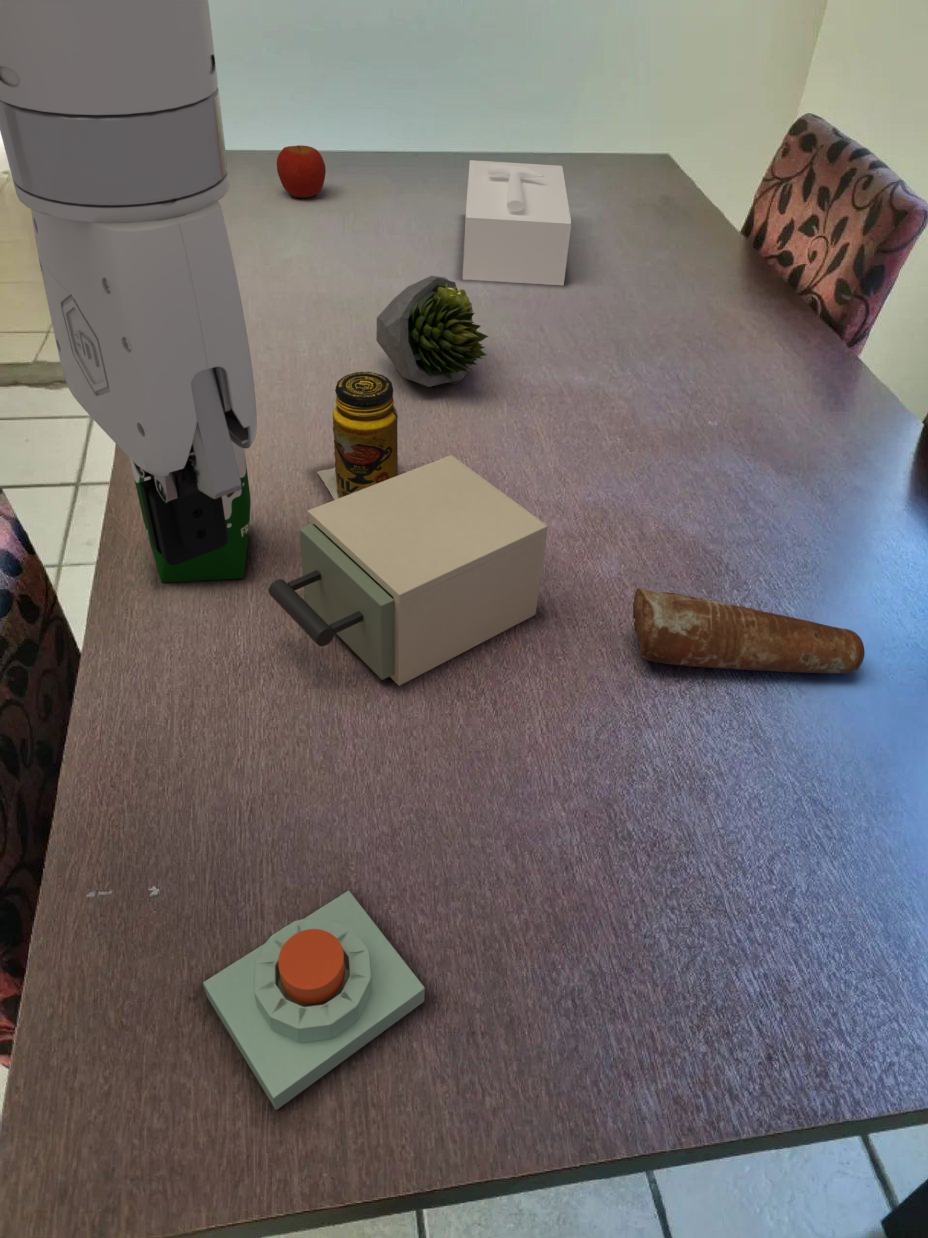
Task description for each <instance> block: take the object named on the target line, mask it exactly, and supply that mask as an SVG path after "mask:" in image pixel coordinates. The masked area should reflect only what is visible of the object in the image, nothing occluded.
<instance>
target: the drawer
mask: <svg viewBox="0 0 928 1238" xmlns="http://www.w3.org/2000/svg"><path fill="white" fill-rule="evenodd" d="M298 531H299V533H298V534H299V544H300V545H299V546H300V554H301V566H302V576H299V577H297V578H294V579H292V580H290V581H288V582H287V581H286V580H285V579H282V578H279V579H276V580H274V581H273V582H271V584H270V585H269V588H268V594H269V596H270V597H271V598H272V599H273V600H274V601H275V602H276V603H277V604H278V605H279V606H280V607H281V608H282V609H283V610H284V611H285V613H287V614H288V615H289V617H290V618H291V619H292V620H293V621H294V622H295V623H296V624H297V625H298V626H299V627H300V628H301V630H302V631H304V632H305V634H306V635H308V637H309V638H310V639H311V640H312V641H313V642H314V643H315V644H316V645H317V646H318V647H325V646H327V645H329V644H331V642H332V641H333V639H334V637H335V635H337V636H338V637H339V638H340V639H341V640H342V642H344V643H345V644H346V645H347V646H348V647H349V648H350V650H351V651H353V653H355V654H356V655H357V656H358V657H359V658H360V659H361V661H363V663H365V664H366V666H367V667H368V668H369V669H370V670H371V671H372V672H373V673H374V674H375V675H376V676H377V677H378V678H379V679H380V680H381V681H383V680H385V679H387V678H390V676H391V675H393V674H394V599H393V598H394V597H393V596H392V595H391V594H390V593H389V592H387V591H386V590H385V589H384V588H383V587H382V586H381V585H380V584H379V583H378V582H377V581H376V580H374V579H373V578H372V577H371V576H370V575H369V574H368V573H367V572H366V571H365V570H364V569H363V568H362V567H360V566H359V565H358V564H357V563H356V562H355V561H354V560H353V559H352V558H351V557H350V556H349V555H347V554H346V553H345V552H344V551H343V550H342V549H341V548H340V547H339V546H338V545H337V544H336V543H334V542H333V541H332V542H331V541H330V540H329V539H328V538H327V537H326V536H325V535H324V534H322V533H321V532H320V531H319V530H318V529H317V528H316V527H315V526H314V525H313V524H307V525H304V526H302V527H299V528H298ZM302 588H303V591H304V599H303V597H302V596H300V594H299V593H298V592H297V590H299V589H302Z"/></svg>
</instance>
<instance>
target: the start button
mask: <svg viewBox="0 0 928 1238" xmlns="http://www.w3.org/2000/svg"><path fill="white" fill-rule="evenodd" d="M278 966H279V972H280V978H281V983H282V986H283V989H284V991H285V992H286V993H287V995H288V996H289V997H290V998H292V999H293V1000H295V1001H297V1002H300V1003H304V1004H316V1003H320V1002H323V1001H325V1000H327V999H329V998H330V997H332V996H333V995H334V994H335V993H336V992H337V991H338V990H339V988H340V986H341V985H342V982H343V980H344V975H345V965H344V953H343V948H342V946H341V944H340V942H339V941H338V939H337V938H336V937H335V936H334V935H332V934H331V933H329V932H327V931H324V930H320V929H308V930H304V931H301V932H298V933H297V934H295V935H293V936H292V937H291V938H289V939H288V940H287V942H286V943H285V944H284V945H283V947H282V949H281V951H280V954H279V958H278Z"/></svg>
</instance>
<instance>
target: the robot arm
mask: <svg viewBox="0 0 928 1238" xmlns="http://www.w3.org/2000/svg"><path fill="white" fill-rule="evenodd" d="M210 12H211V11H210V5H209V0H0V135H1V139H2V143H3V146H4V151H5V155H6V158H7V159H6V160H7V163H8V167H9V171H10V174H11V178H12V181H13V186H14V189H15V194H16V196H17V198H18V200H19V202H21V203H22V204H23V205H24V206H25V207H27V208H28V209H30V212H31V220H32V227H33V233H34V239H35V245H36V249H37V256H38V261H39V266H40V267H39V268H40V272H41V277H42V282H43V286H44V290H45V297H46V301H47V305H48V306H47V307H48V311H49V316H50V320H51V326H52V330H53V335H54V339H55V345H56V348H57V354H58V358H59V362H60V367H61V372H62V374H63V378H64V382H65V384H66V386H67V388H68V390H69V392H70V393H71V395H72V397H73V398H74V399H75V400H76V402H77V403H78V404H79V405H80V406H81V408H82V409H83V410H84V411H85V412H86V413H87V414H88V416H90V417H91V419H93V421H94V422H95V423H96V424H97V425H98V426H99V428H100V429H101V430H102V431H103V432H105V434H106V435H107V436H108V437H109V439H111V440H112V442H114V443H115V444H116V445H117V446H118V448H120V450H121V451H122V452H124V454H125V455H126V456H127V457H128V458H129V460H130V459H131V460H132V461H133V463H134V466H135V469H136V471H137V473H138V474H139V476H140V477H141V478H142V479H143V478H146V477H149V476H150V478H151V479H149V480H146V481H143V482H140V483H139V485H140V489H141V494H142V498H143V503H144V507H145V512H146V517H147V521H148V526H149V530H150V535H151V539H152V544H153V547H154V548H155V549H156V550H157V551H158V553H160V554H162V556H163V558H164V560H165V561H166V562H167V563H168V564H169V565H171V566H175V565H178V564H180V563H183V562H186V561H188V560H191V559H193V558H196V557H198V556H201V555H203V554H206V553H209V552H211V551H214V550H216V549H219V548H221V547H223V546H225V545H226V543H227V541H228V535H227V529H226V522H225V515H224V508H223V502H222V496H225V495H228V494H230V493H233V492H236V491H239V490H241V487H242V485H241V480H240V476H239V471H238V467H237V463H236V459H235V455H234V451H233V447H232V443H231V441H232V442H234V443H235V444H236V445H238V446H240V447H242V448H244V449H249V448H251V447H252V445H253V443H254V441H255V439H256V436H257V428H258V418H257V417H258V414H257V412H258V411H257V401H256V400H257V399H256V390H255V389H256V388H255V379H254V371H253V365H252V357H251V351H250V343H249V337H248V333H247V332H248V331H247V325H246V320H245V313H244V308H243V301H242V298H241V292H240V291H241V290H240V287H239V282H238V281H239V280H238V277H237V272H236V266H235V262H234V257H233V252H232V248H231V247H232V246H231V244H230V243H231V242H230V239H229V234H228V229H227V225H226V222H225V221H226V220H225V217H224V213H223V209H222V205H221V203H220V200H221V199H223V198H224V197H225V195H226V194H227V193H228V192H229V189H230V179H229V172H228V160H227V152H226V143H225V135H224V124H223V117H222V116H223V115H222V108H221V107H222V106H221V101H220V100H221V97H220V89H219V86H218V85H219V82H218V74H217V72H218V71H217V64H216V63H217V62H216V57H215V56H216V55H215V47H214V40H213V31H212V22H211V21H212V20H211V13H210Z"/></svg>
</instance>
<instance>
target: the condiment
mask: <svg viewBox="0 0 928 1238" xmlns="http://www.w3.org/2000/svg"><path fill="white" fill-rule="evenodd" d="M334 391H335V394H336V395H335V397H336V398H335V405H336V406H335V407H334V409H333V411H332V431H333V432H332V433H333V444H334V445H333V446H334V447H333V449H334V450H333V456H334V467H333V468H329V469H322V470H318V471H316V473H317V475H318V477H319V478H320V479H321V481H322V482H323V484H324V486H325V487H326V488H327V490H328V491H329V493H330V495H331V497H332V498H333V501H334V500H336V499H339V498H341V497H344V496H346V495H349V494H352V493H354V492H357V491H359V490H362V489H365V488H367V487H370V486H372V485H375V484H377V483H380V482H383V481H385V480H388V479H390V478H393V477H395V476H398V475H399V474H398V473H399V471H398V470H399V467H398V465H399V464H398V463H399V461H398V459H399V458H398V456H399V455H398V453H399V451H398V449H399V447H398V416H399V415H398V411H397V409H396V406H395V405H394V403H395V400H394V386H393V383H392V381H391V380H390V379H389V378H388V377H387V376H385V375H383V374H380V373H377V372H372V371H357V372H356V371H355V372H352V373H349V374H346V375H343V377H341V378H340V379H339V380H338V381H337V383H336V385H335V390H334Z"/></svg>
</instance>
